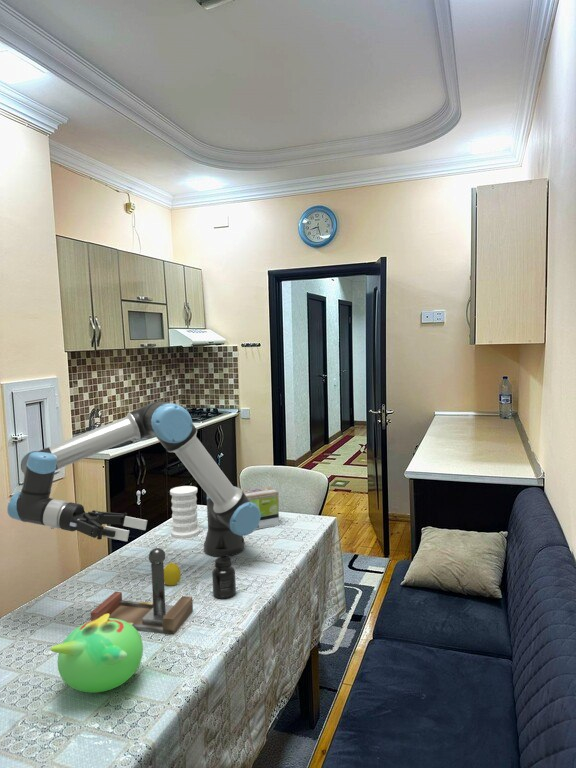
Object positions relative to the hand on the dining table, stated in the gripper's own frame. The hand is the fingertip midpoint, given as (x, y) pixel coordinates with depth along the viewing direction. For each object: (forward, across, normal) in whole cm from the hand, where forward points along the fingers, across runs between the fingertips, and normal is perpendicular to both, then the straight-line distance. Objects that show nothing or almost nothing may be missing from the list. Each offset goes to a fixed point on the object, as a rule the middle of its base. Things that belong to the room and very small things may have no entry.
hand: (137, 530), depth 142 cm
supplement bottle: (+25, -14, -19) cm, 35 cm away
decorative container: (-2, -68, -16) cm, 70 cm away
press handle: (+11, +1, -22) cm, 25 cm away
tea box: (+25, -77, -10) cm, 82 cm away
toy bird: (+7, +25, -28) cm, 38 cm away
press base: (+6, 0, -24) cm, 25 cm away
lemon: (+8, -21, -21) cm, 31 cm away
